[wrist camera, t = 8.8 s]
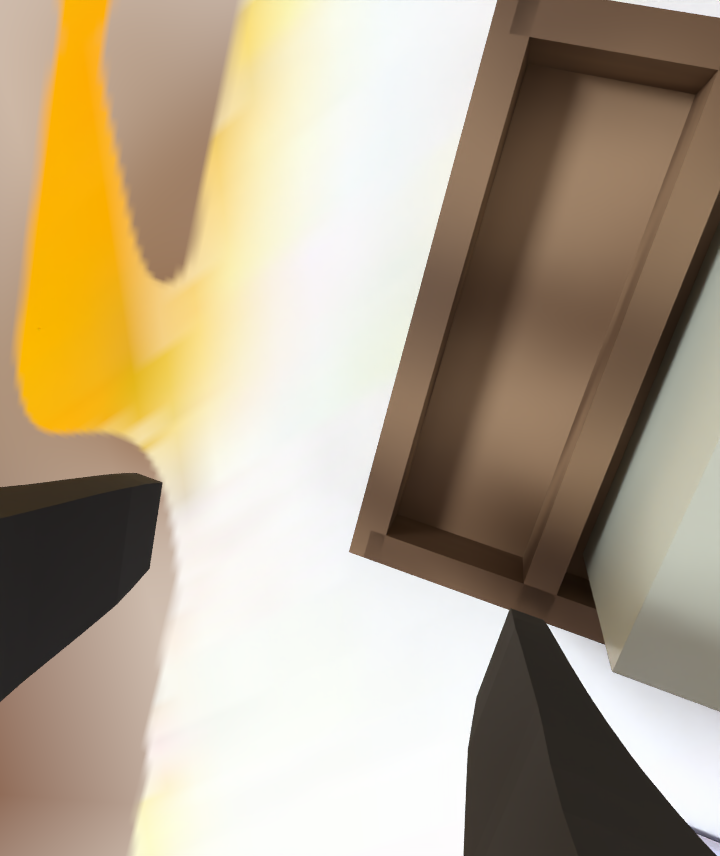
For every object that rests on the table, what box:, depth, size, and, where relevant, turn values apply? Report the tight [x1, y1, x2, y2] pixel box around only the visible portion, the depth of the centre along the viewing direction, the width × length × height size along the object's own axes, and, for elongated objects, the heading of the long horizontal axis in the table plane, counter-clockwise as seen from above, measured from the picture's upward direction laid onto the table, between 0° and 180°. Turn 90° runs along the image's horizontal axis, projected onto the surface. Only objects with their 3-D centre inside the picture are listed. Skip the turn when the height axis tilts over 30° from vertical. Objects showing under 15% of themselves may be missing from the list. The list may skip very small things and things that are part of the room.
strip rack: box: [349, 0, 720, 644], centre depth 16 cm, size 16×17×2 cm
